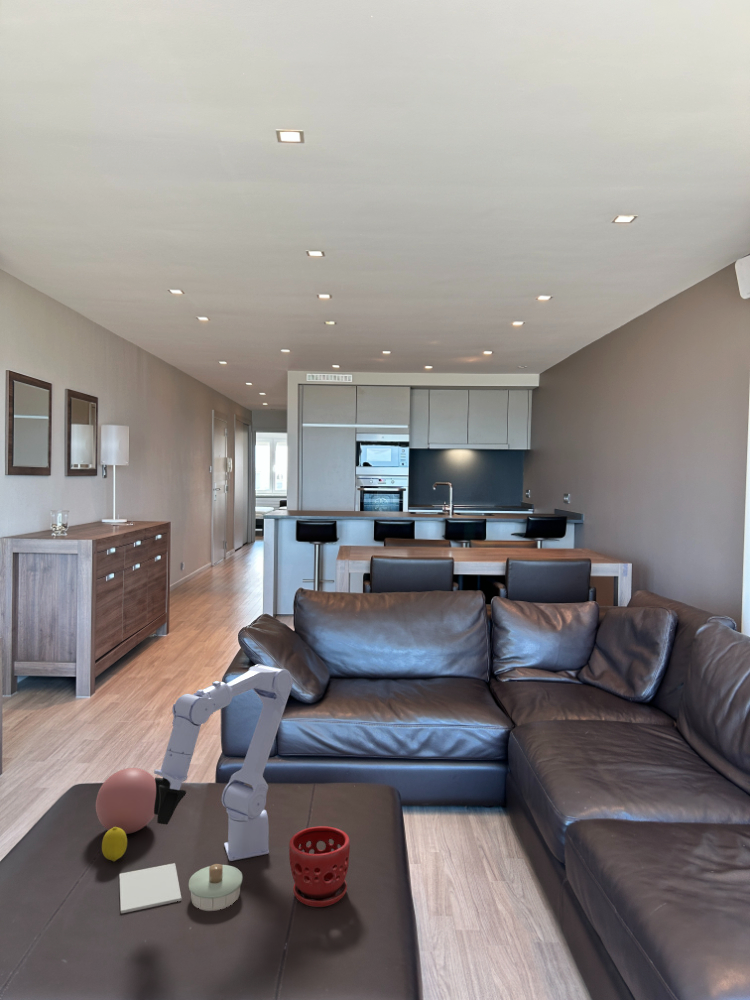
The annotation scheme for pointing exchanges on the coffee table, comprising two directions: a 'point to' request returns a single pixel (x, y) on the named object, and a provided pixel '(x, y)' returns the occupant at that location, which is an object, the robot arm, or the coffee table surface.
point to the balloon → (127, 800)
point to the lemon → (114, 843)
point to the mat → (149, 888)
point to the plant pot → (319, 865)
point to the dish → (215, 901)
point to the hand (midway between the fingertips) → (160, 819)
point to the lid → (215, 881)
